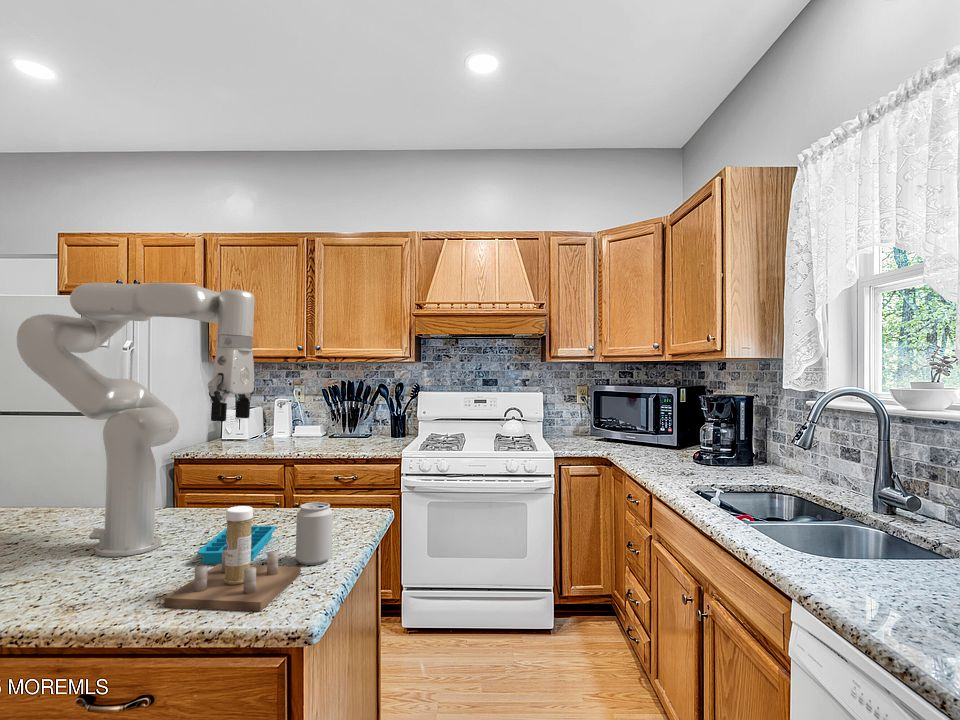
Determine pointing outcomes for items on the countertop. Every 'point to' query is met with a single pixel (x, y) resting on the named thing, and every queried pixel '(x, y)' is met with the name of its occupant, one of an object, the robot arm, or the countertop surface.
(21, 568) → the countertop surface
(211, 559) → the ice cube tray
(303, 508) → the can
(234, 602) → the peg board
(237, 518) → the sprinkles bottle
